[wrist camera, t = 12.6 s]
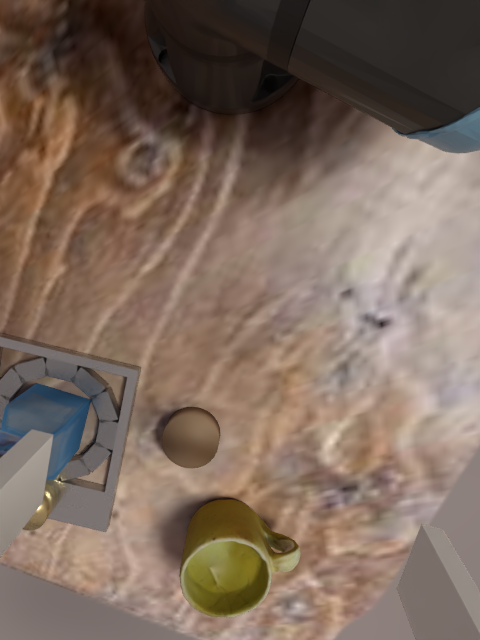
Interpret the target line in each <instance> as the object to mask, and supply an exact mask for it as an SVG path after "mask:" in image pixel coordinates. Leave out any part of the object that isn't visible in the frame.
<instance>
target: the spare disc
mask: <svg viewBox="0 0 480 640" xmlns="http://www.w3.org/2000/svg"><path fill="white" fill-rule="evenodd" d="M219 439H220V428H219V424H218V422H217V420H216V419H215V418H214V416H213V415H212V414H210V413H209V412H208V411H206V410H204V409H201V408H198V407H186V408H183V409H180V410H178V411H177V412H175V413H174V414H173V415H172V416H171V417H170V419H169V421H168V423H167V425H166V427H165V429H164V432H163V434H162V447H163V450H164V452H165V454H166V456H167V457H168V458H169V459H170V460H171V461H172V462H173V463H175V464H177V465H179V466H181V467H185V468H198V467H201V466H204V465H206V464H207V463H209V462H210V461H211V460H212V459H213V458H214V456H215V454H216V452H217V449H218V444H219Z"/></svg>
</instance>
